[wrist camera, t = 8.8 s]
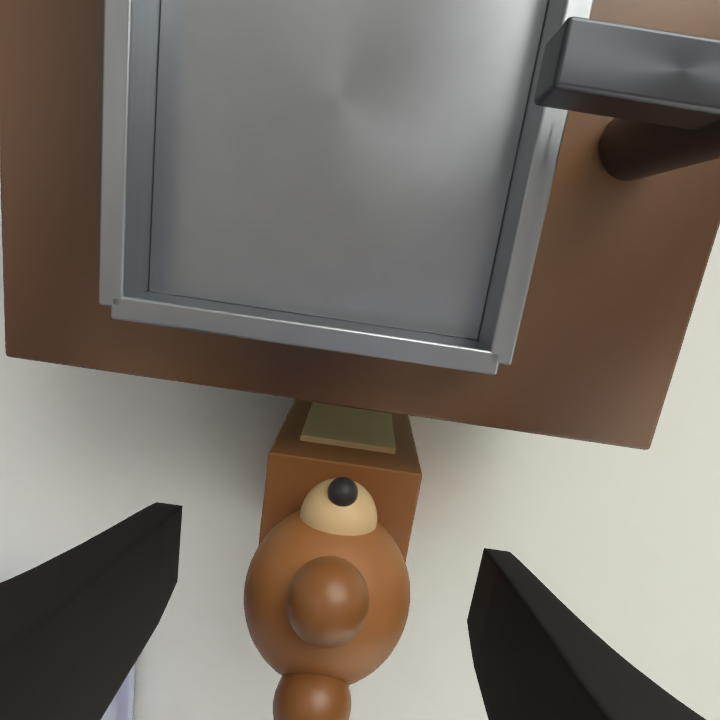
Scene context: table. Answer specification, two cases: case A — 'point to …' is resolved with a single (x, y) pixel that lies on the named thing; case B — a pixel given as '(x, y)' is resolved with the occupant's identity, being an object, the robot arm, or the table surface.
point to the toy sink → (366, 199)
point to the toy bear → (332, 553)
